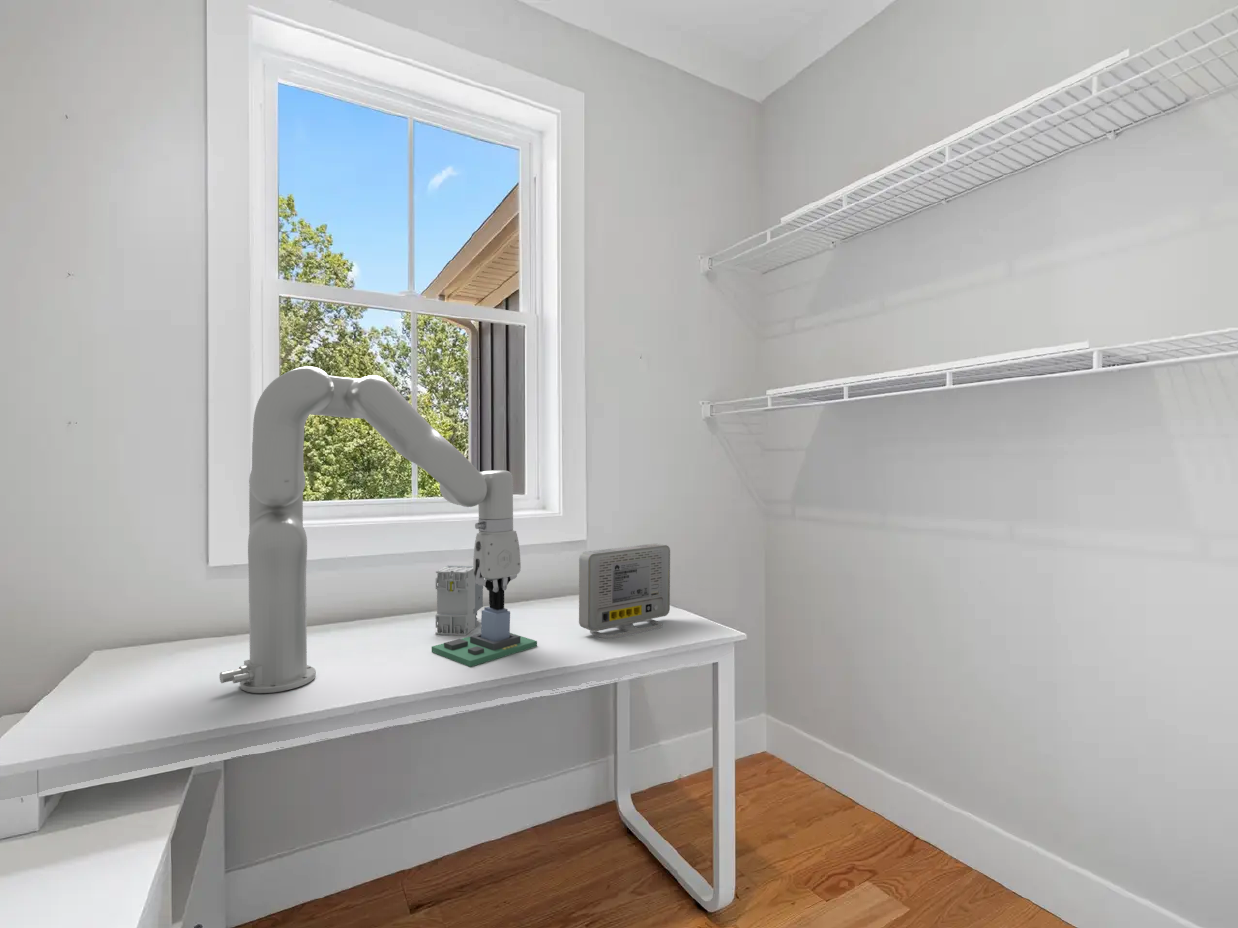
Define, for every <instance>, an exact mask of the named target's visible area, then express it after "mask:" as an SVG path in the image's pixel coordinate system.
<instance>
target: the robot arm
mask: <svg viewBox="0 0 1238 928" xmlns="http://www.w3.org/2000/svg"><path fill="white" fill-rule="evenodd" d="M254 409H255V410H254V413H253V423H252V426H253V427H252V443H251V470H250V473H249V479H248V484H249V485H248V486H249V489H248V490H249V491H248V492H249V493H248V494H249V496H248V499H249V503H248V506H249V511H248V514H249V515H248V517H249V521H248V523H249V526H248V527H249V530H248V531H249V532H248V533H249V534H248V540H247V559H248V561H247V564H248V605H249V606H248V607H249V608H248V611H249V612H248V613H249V616H248V617H249V620H248V621H249V622H248V623H249V624H248V625H249V629H248V630H249V659H247V660H244V661H243V664H244V665H240V666H239V667H238V668H237V669H233V670H232V669H230V670H227V671H220V673H219V682H220V684H223V683H224V684H225V683H228V682H232V683H233V684H237V683H239V688H240V689H241V690H242V691H244V692H247V693H252V694H269V693H270V694H271V693H279V692H284V691H289V690H293V689H297V688H300V687H302V686H304V685H308V684H309V683H310V682H311V683H312V681H313V680H314V679H315V678H316V675H317V670H316V668H315V667H313V666H311V665H307V664H308V661H307V660H308V658H307V657H308V656H307V653H308V651H307V640H308V638H307V632H308V631H307V630H308V629H307V560H308V538H307V533H306V530H305V527H304V524H303V522H304V521H303V520H304V519H303V518H304V515H303V513H304V508H303V507H304V506H303V505H304V496H303V495H304V490H305V487H306V476H305V472H304V471H305V469H304V444H305V443H304V442H305V426H306V422H307V420H308V418H309V416H311V415H314V416H325V417H326V416H327V417H336V418H346V419H347V418H349V419H362V420H363V419H364V420H365V421H366V422H367V423H368V424H369V425H370V426H371V427H373V428H374V430H376V432H377V433H379V435H381V437H382V438H384V440H385V441H387V443H388V444H389V445H390V446H391V447H392V448H393V449H394V450H395V451H396V452H397V453H398V454H400V455H401V456H402V457H403V458H405V459H406V460H408V461H409V462H411V463H413V464H415V465H417V466H418V467H419V468H420V469H422V470H424V471H425V472H426V473H428V475H430V476H431V477H432V478H433V479H434V480H435V481H437V482H438V484H439V492H440V495H441V496H442V497H443V498H444V499H445V500H446V501H447V502H449V503H451V504H453V505H457V506H462V507H466V508H472V507H476V506H478V522H475V524H474V528H475V529H476V530H478V532H477V533H476V535H475V536H476V537H475V541H474V549H473V564H472V566H473V570H474V576H475V577H476V580H475V584H476V585H481V586H483V587H485V589H486V590H487V591H488V603H489V607H490V608H493V609H497V610H499V609H503V608H505V591H506V590H507V588H508V584H509V583H510V582H511V581H513V580H515V579H517V577H518V575H519V573H520V572H521V568H522V567H521V563H522V562H521V552H520V551H521V550H520V543H519V537H518V533H517V531H516V530H514V485H513V484H514V479H513V478H514V477H513V474H512V473H511V471H508V470H505V469H504V470H503V469H497V470H495V469H493V470H492V469H490V470H484V471H479V470H478V469H477V468H476V466H474V465H473V463H472V462H471V461H469V459H468V458H467V457H466V456H465V455H464V454H463V453H462V452H461V451H460V450H458V449H457V448H456V447H455V446H454V445H453V444H452V443H451V442H450V441H448V440H447V439H446V438H445V437H444V436H443V435H442V434H441V433H440V432H439V431H437V430H436V428H434V427H433V426H432V425H431V424H429V423H428V421H427V420H426V419H424V417H423V416H422V415H421V414H420V413H419V412H418V411H417V410H416V409H415V408H414V407H413V406H412V405H411V404H410V403H409V401H408V400H407V399H406V398H405V397H404V396H403V395H402V394H401V392H399V391H398V390H397V388H395V387H394V386H393V385H392V384H391V382H389V381H388V380H387V379H386V378H383V377H382V376H380V375H374V374H373V375H367V376H366V375H365V376H362V377H361V378H354V377H345V376H344V377H343V376H335V375H329V374H328V373H327V372H326V371H325V370H323V369H322V368H319V367H316V366H300V367H297V368H294V369H291V370H289V371H286V372H285V373H283V374H281V375H279V376H278V377H276V378H274V379H273V380H272V381H271V382H270V383H269V384H268V385H267V386H266V387H265V389H264V390H263V392H262V393H261V394H260V396H259V399H258V400H257V403H256V407H255V408H254Z"/></svg>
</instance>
